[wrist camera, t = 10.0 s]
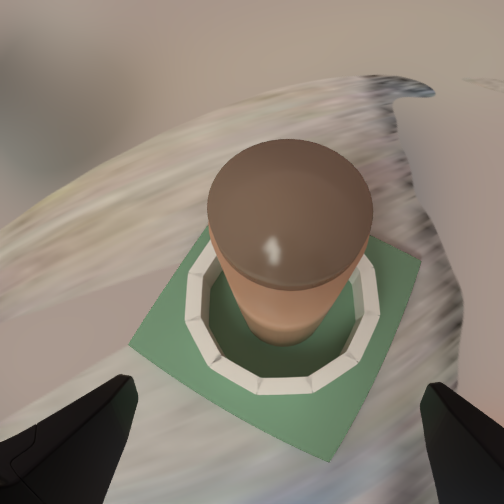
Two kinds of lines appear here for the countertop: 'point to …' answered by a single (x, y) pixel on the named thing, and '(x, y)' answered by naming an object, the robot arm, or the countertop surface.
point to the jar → (288, 234)
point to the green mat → (280, 352)
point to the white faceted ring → (351, 354)
